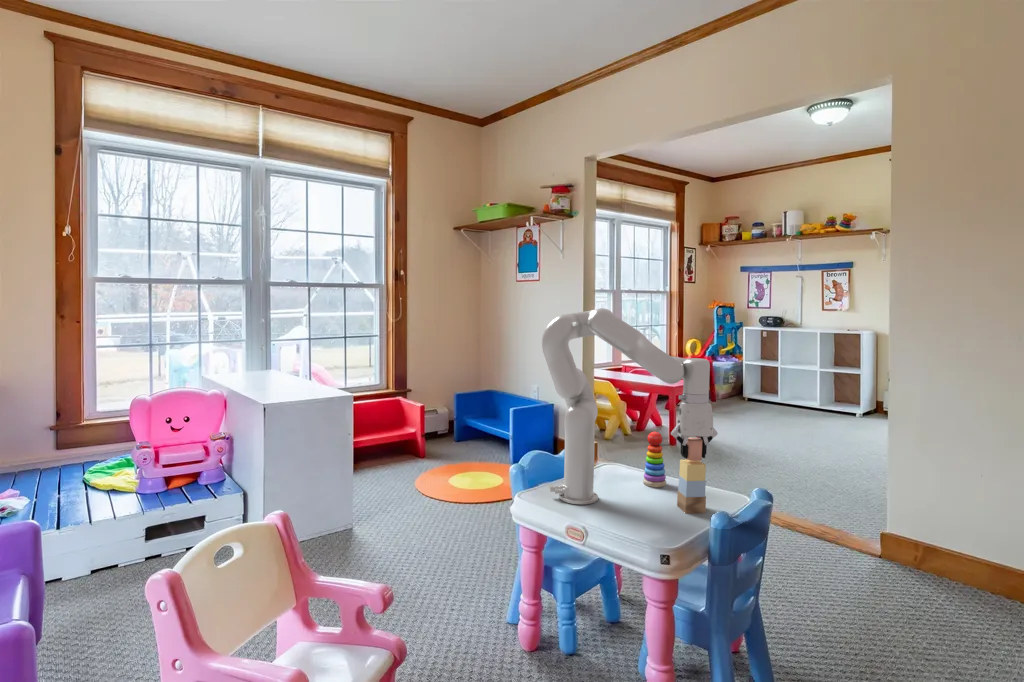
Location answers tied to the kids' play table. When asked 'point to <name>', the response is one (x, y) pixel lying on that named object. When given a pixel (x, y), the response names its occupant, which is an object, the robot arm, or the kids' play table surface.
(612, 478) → the kids' play table surface
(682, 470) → the tower top
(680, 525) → the kids' play table surface
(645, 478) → the stacking toy
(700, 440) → the cylinder
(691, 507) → the tower base
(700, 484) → the tower mid
